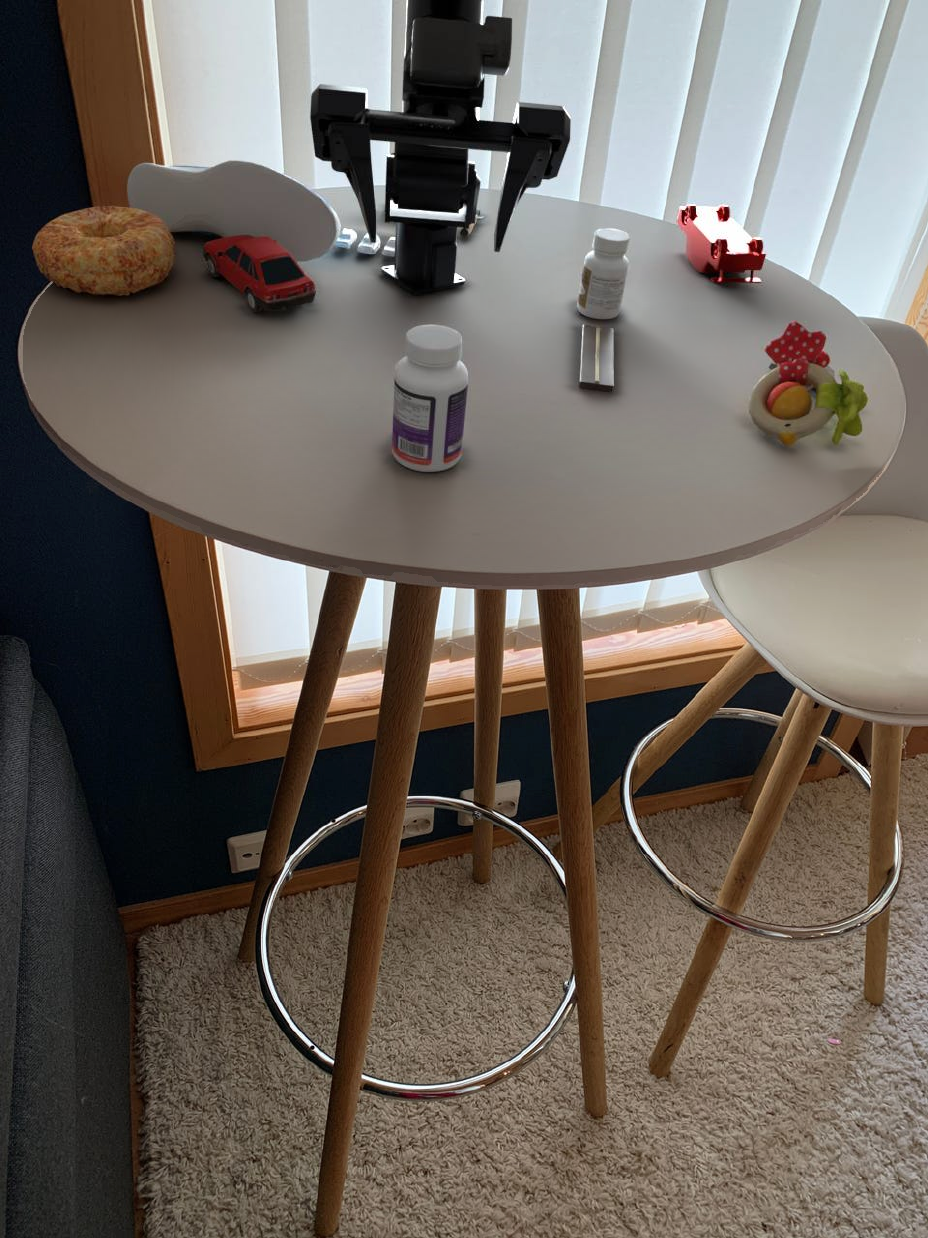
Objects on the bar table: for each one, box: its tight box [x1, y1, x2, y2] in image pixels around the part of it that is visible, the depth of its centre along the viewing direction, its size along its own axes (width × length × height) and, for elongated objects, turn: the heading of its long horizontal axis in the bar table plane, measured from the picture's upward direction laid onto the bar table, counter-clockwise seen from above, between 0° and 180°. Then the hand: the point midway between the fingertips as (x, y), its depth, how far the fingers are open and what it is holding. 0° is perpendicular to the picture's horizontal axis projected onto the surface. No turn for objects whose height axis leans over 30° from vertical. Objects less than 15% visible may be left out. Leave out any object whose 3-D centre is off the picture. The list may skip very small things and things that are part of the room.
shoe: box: [126, 159, 342, 263], centre depth 100 cm, size 9×23×12 cm
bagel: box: [31, 205, 177, 297], centre depth 90 cm, size 13×14×5 cm
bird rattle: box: [748, 320, 869, 448], centre depth 79 cm, size 6×11×9 cm
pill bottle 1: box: [391, 324, 469, 473], centre depth 69 cm, size 5×5×10 cm
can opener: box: [459, 208, 485, 238], centre depth 110 cm, size 9×2×1 cm, turn 174°
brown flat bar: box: [578, 324, 615, 393], centre depth 87 cm, size 12×3×1 cm, turn 173°
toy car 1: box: [202, 235, 317, 313], centre depth 90 cm, size 6×14×5 cm, turn 37°
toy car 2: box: [676, 203, 767, 284], centre depth 106 cm, size 14×6×5 cm, turn 10°
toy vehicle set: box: [334, 228, 395, 258], centre depth 101 cm, size 12×4×2 cm, turn 79°
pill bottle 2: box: [576, 227, 631, 320], centre depth 93 cm, size 4×4×8 cm
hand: (435, 244), depth 69 cm, fingers open, 9 cm apart
